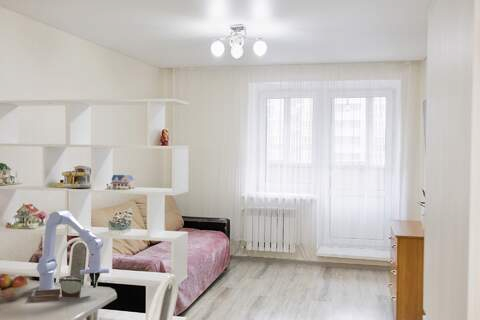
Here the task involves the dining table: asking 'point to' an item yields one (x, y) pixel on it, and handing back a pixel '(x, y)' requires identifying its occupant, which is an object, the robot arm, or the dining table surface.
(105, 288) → the dining table surface
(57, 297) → the bottom track
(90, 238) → the robot arm
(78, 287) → the food container
